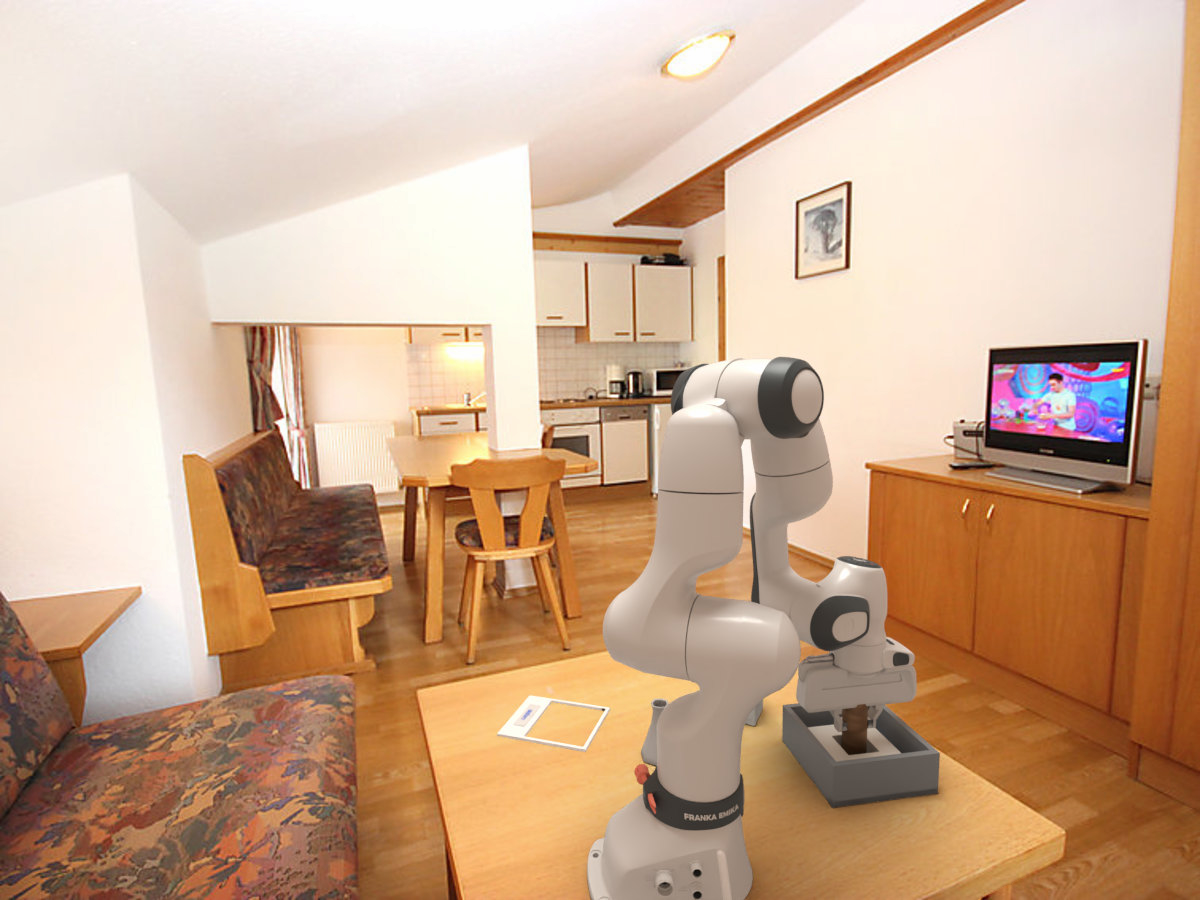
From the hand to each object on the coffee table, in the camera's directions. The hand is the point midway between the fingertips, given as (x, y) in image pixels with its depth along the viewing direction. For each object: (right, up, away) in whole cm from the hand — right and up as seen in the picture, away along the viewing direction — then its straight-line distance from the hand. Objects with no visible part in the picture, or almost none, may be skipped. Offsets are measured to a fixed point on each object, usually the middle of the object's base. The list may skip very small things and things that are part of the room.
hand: (854, 728), depth 105 cm
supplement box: (-15, -5, +18) cm, 24 cm away
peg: (0, -5, +1) cm, 5 cm away
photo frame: (-52, -7, +16) cm, 55 cm away
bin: (0, -7, +1) cm, 7 cm away
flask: (-33, -7, +5) cm, 34 cm away
